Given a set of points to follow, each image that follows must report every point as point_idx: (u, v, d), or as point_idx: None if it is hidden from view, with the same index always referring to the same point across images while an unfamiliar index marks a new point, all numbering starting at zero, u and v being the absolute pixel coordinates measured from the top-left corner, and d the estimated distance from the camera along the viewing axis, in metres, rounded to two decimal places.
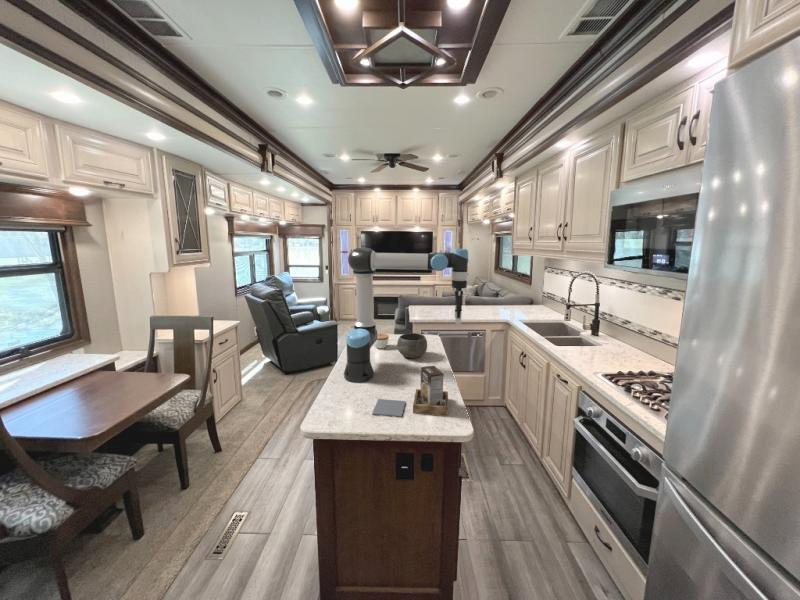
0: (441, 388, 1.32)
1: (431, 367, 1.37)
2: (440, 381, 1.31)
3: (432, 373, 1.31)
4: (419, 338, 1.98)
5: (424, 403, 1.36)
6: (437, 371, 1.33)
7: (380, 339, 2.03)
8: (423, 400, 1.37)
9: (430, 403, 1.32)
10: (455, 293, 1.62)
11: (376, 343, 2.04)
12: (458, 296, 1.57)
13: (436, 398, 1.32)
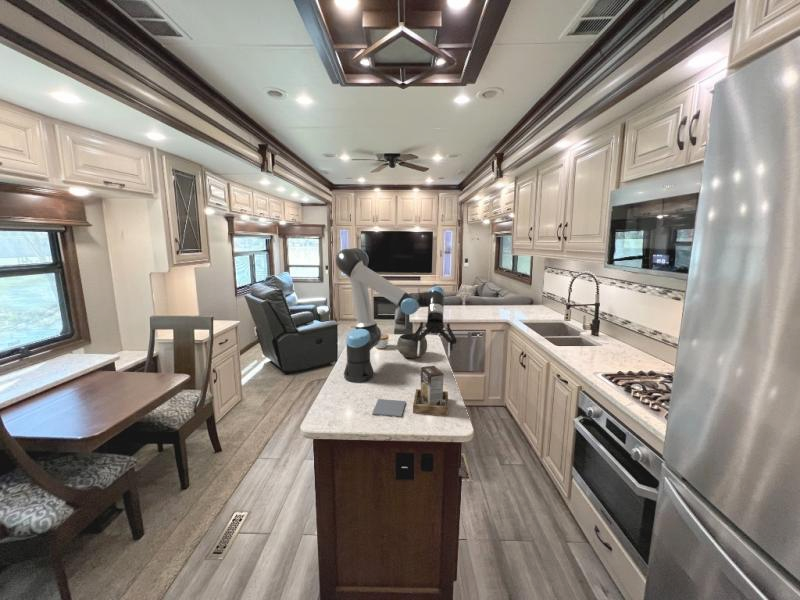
0: (441, 388, 1.32)
1: (431, 367, 1.37)
2: (440, 381, 1.31)
3: (432, 373, 1.31)
4: None
5: (424, 403, 1.36)
6: (437, 371, 1.33)
7: (380, 339, 2.03)
8: (423, 400, 1.37)
9: (430, 403, 1.32)
10: None
11: None
12: None
13: (436, 398, 1.32)
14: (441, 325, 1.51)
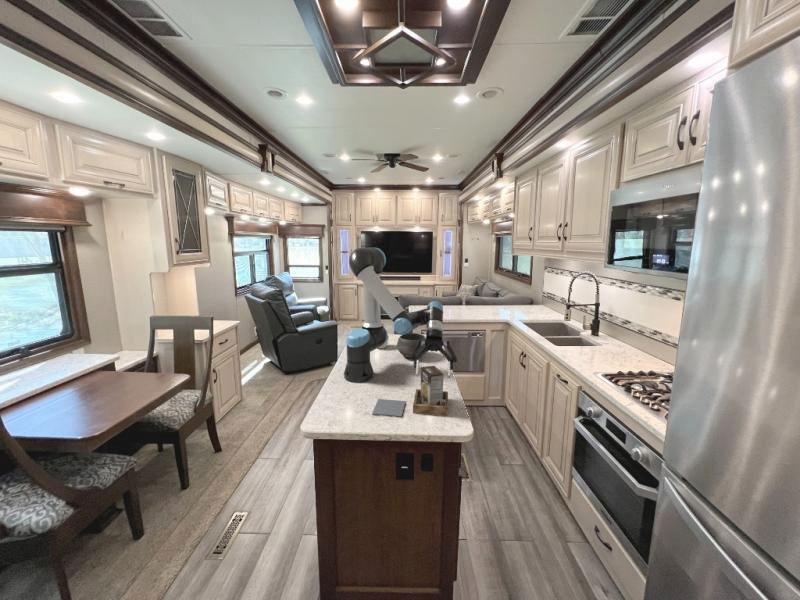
0: (441, 388, 1.32)
1: (431, 367, 1.37)
2: (440, 381, 1.31)
3: (432, 373, 1.31)
4: (419, 338, 1.98)
5: (424, 403, 1.36)
6: (437, 371, 1.33)
7: None
8: (423, 400, 1.37)
9: (430, 403, 1.32)
10: None
11: None
12: None
13: (436, 398, 1.32)
14: (440, 343, 1.45)
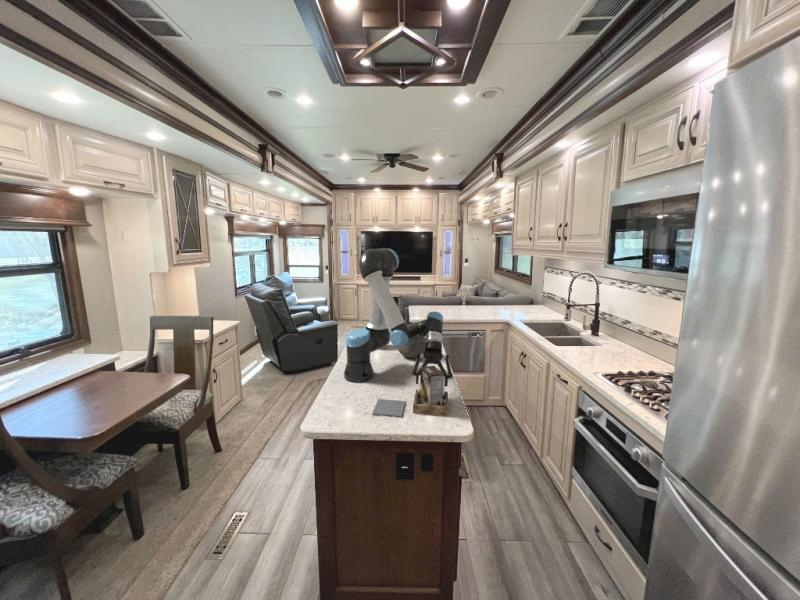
0: (441, 388, 1.32)
1: (431, 367, 1.37)
2: (440, 381, 1.31)
3: (432, 373, 1.31)
4: (419, 338, 1.98)
5: (424, 403, 1.36)
6: (437, 371, 1.33)
7: None
8: (423, 400, 1.37)
9: (430, 403, 1.32)
10: None
11: None
12: None
13: (436, 398, 1.32)
14: (440, 355, 1.40)
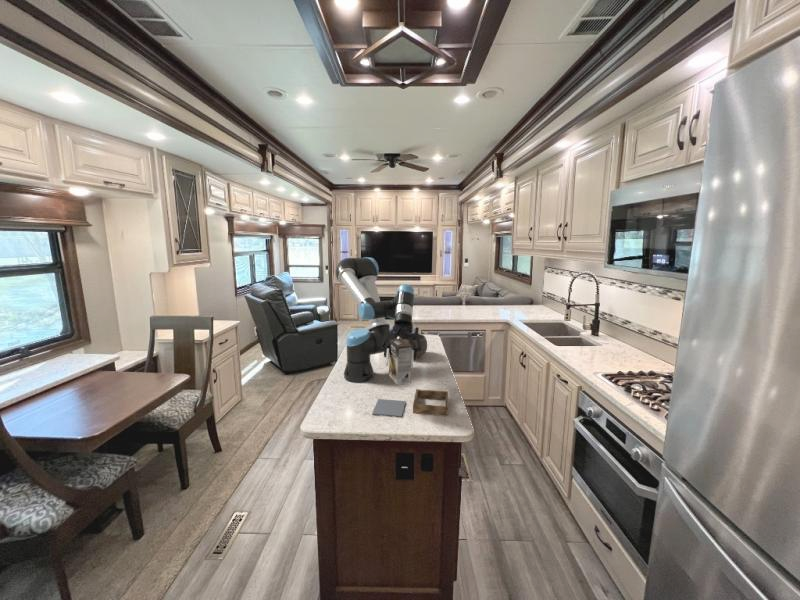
0: (409, 360, 1.28)
1: (400, 340, 1.33)
2: (408, 353, 1.27)
3: (400, 345, 1.27)
4: (419, 338, 1.98)
5: (392, 377, 1.32)
6: (405, 343, 1.29)
7: None
8: (391, 373, 1.33)
9: (398, 376, 1.28)
10: None
11: None
12: None
13: (404, 370, 1.28)
14: (409, 328, 1.36)
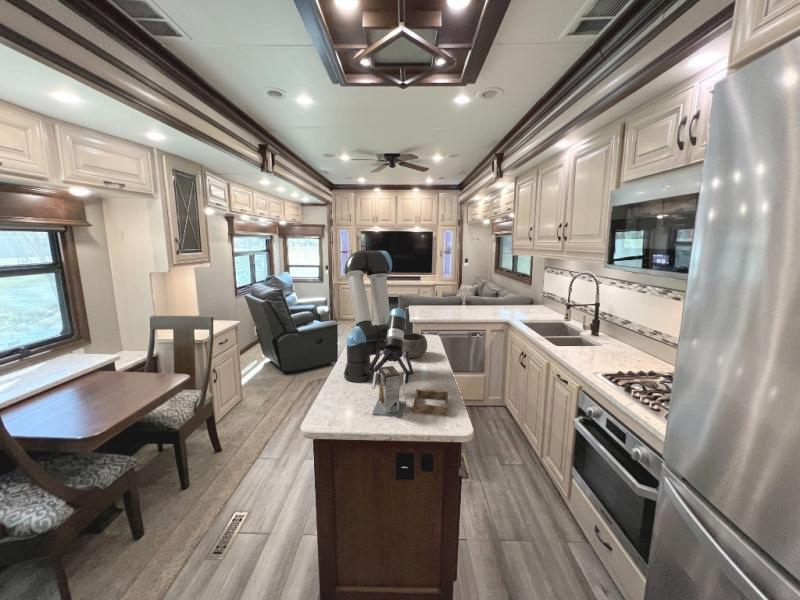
0: (397, 389, 1.30)
1: (389, 367, 1.34)
2: (396, 382, 1.29)
3: (388, 373, 1.28)
4: (419, 338, 1.98)
5: (381, 404, 1.33)
6: (394, 371, 1.31)
7: None
8: (380, 401, 1.34)
9: (386, 404, 1.29)
10: None
11: None
12: None
13: (392, 399, 1.29)
14: (399, 352, 1.37)
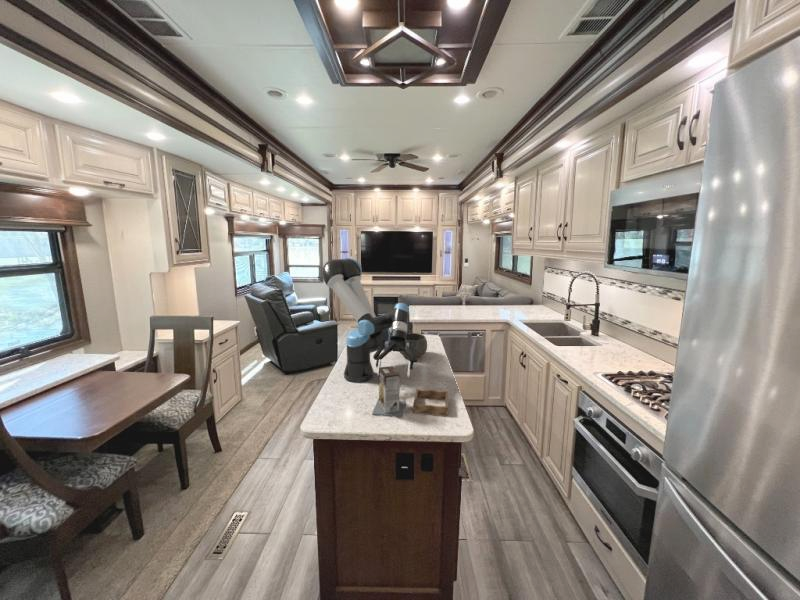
0: (397, 389, 1.29)
1: (389, 367, 1.34)
2: (396, 382, 1.29)
3: (388, 374, 1.28)
4: (419, 338, 1.98)
5: (381, 404, 1.33)
6: (394, 372, 1.31)
7: None
8: (380, 401, 1.34)
9: (386, 404, 1.29)
10: None
11: None
12: None
13: (392, 399, 1.29)
14: (403, 343, 1.50)
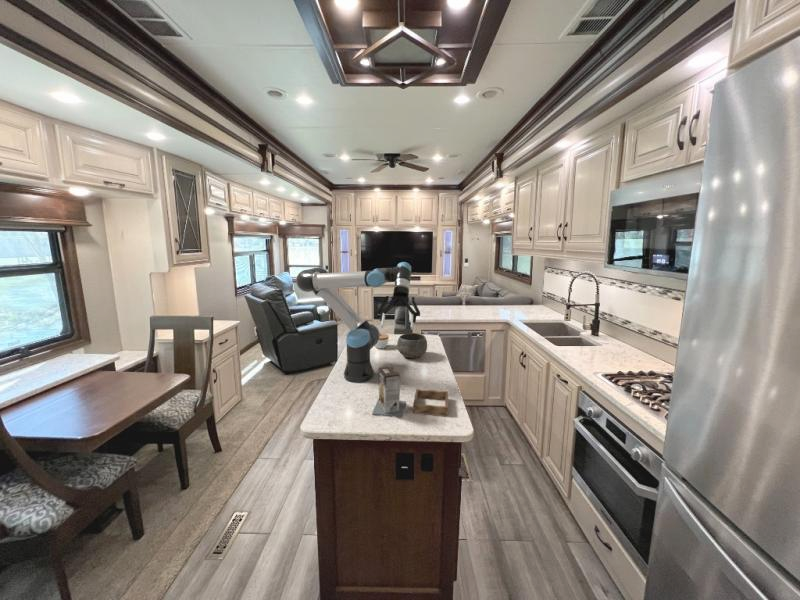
0: (397, 389, 1.29)
1: (389, 367, 1.34)
2: (396, 382, 1.29)
3: (388, 374, 1.28)
4: (419, 338, 1.98)
5: (381, 404, 1.33)
6: (394, 372, 1.31)
7: (380, 339, 2.03)
8: (380, 401, 1.34)
9: (386, 404, 1.29)
10: None
11: None
12: None
13: (392, 399, 1.29)
14: (406, 298, 1.54)
